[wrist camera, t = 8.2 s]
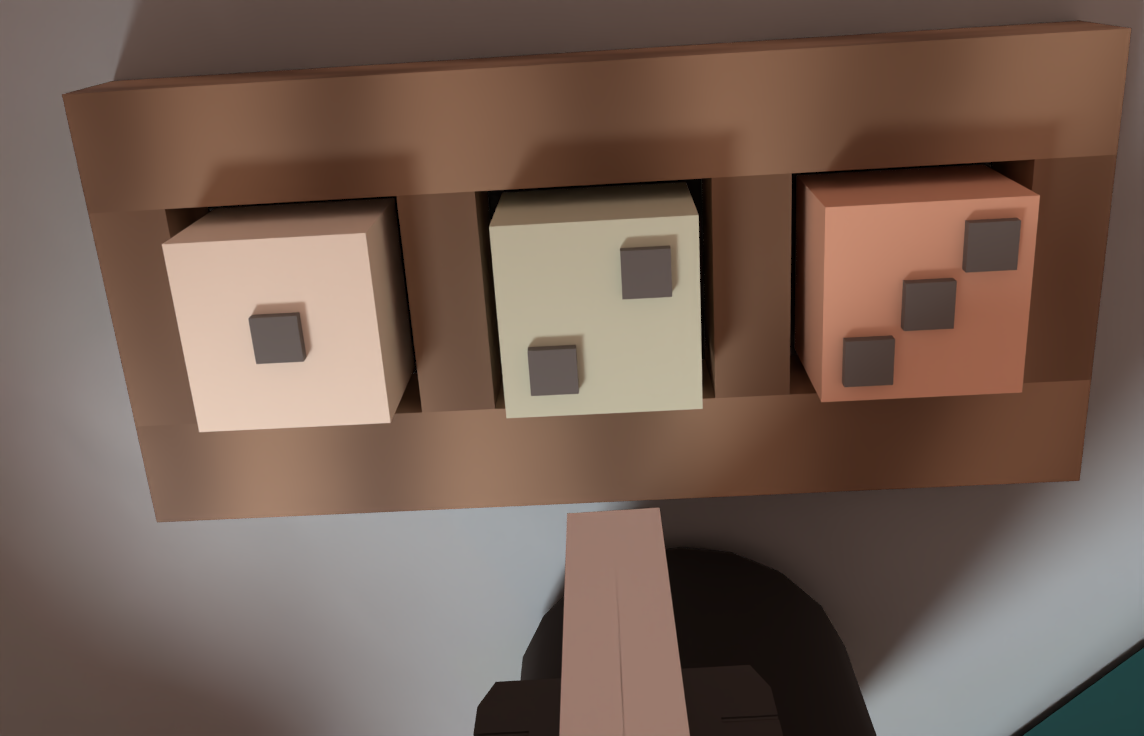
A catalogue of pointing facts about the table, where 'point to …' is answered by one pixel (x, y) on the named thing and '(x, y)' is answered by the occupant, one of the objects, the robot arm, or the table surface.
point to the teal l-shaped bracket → (1103, 706)
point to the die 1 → (292, 314)
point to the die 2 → (598, 300)
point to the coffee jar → (745, 640)
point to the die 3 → (913, 282)
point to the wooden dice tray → (605, 156)
